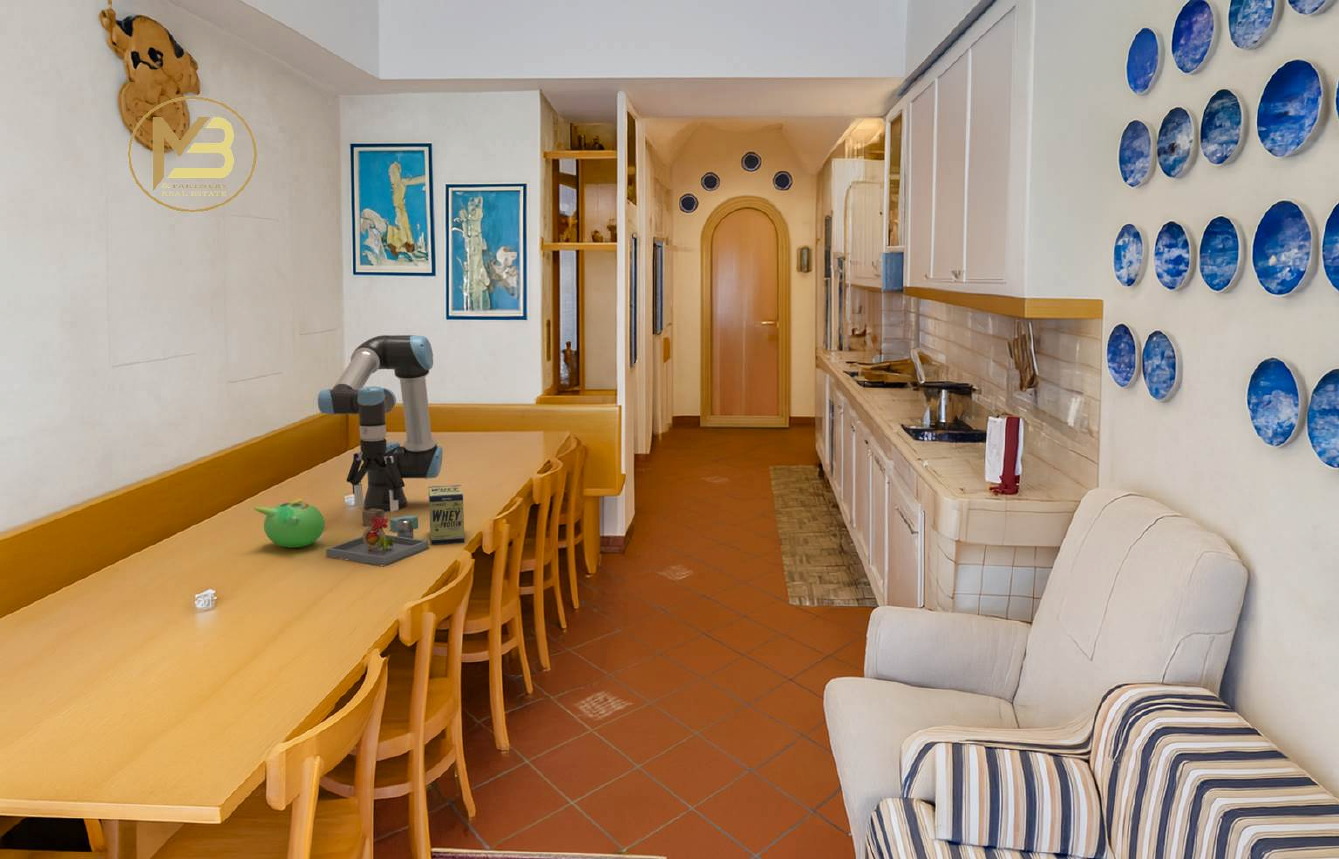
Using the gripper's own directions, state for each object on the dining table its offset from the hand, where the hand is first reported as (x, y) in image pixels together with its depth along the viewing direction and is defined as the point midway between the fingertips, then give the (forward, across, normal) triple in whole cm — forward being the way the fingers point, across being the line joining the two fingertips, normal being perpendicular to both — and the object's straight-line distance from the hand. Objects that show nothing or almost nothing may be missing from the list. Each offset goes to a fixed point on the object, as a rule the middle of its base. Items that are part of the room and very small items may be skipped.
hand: (376, 508), depth 286 cm
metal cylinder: (+14, -3, +16) cm, 21 cm away
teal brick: (+14, -11, +25) cm, 31 cm away
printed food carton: (+14, 0, 0) cm, 14 cm away
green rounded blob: (+14, -28, -6) cm, 32 cm away
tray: (+14, 0, 0) cm, 14 cm away
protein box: (+14, +8, +23) cm, 28 cm away
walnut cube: (+14, -24, +25) cm, 37 cm away
